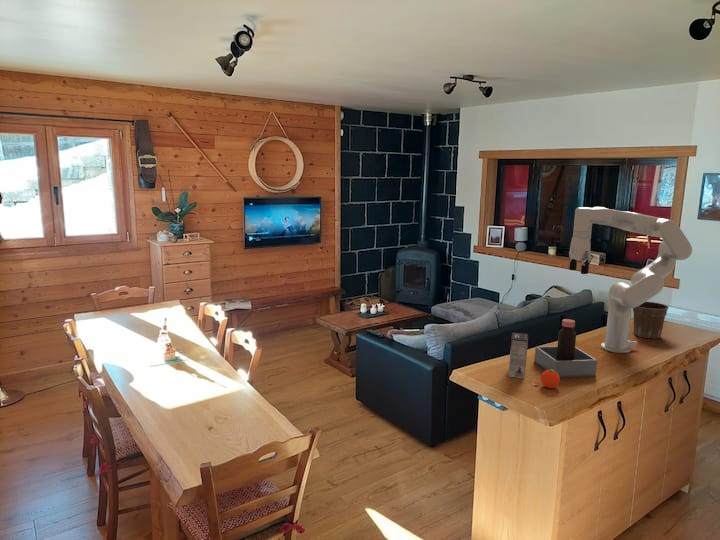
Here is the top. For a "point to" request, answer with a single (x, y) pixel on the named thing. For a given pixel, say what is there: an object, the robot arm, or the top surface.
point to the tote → (566, 363)
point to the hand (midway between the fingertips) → (578, 271)
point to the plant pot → (649, 319)
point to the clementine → (550, 378)
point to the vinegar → (566, 341)
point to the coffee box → (518, 355)
